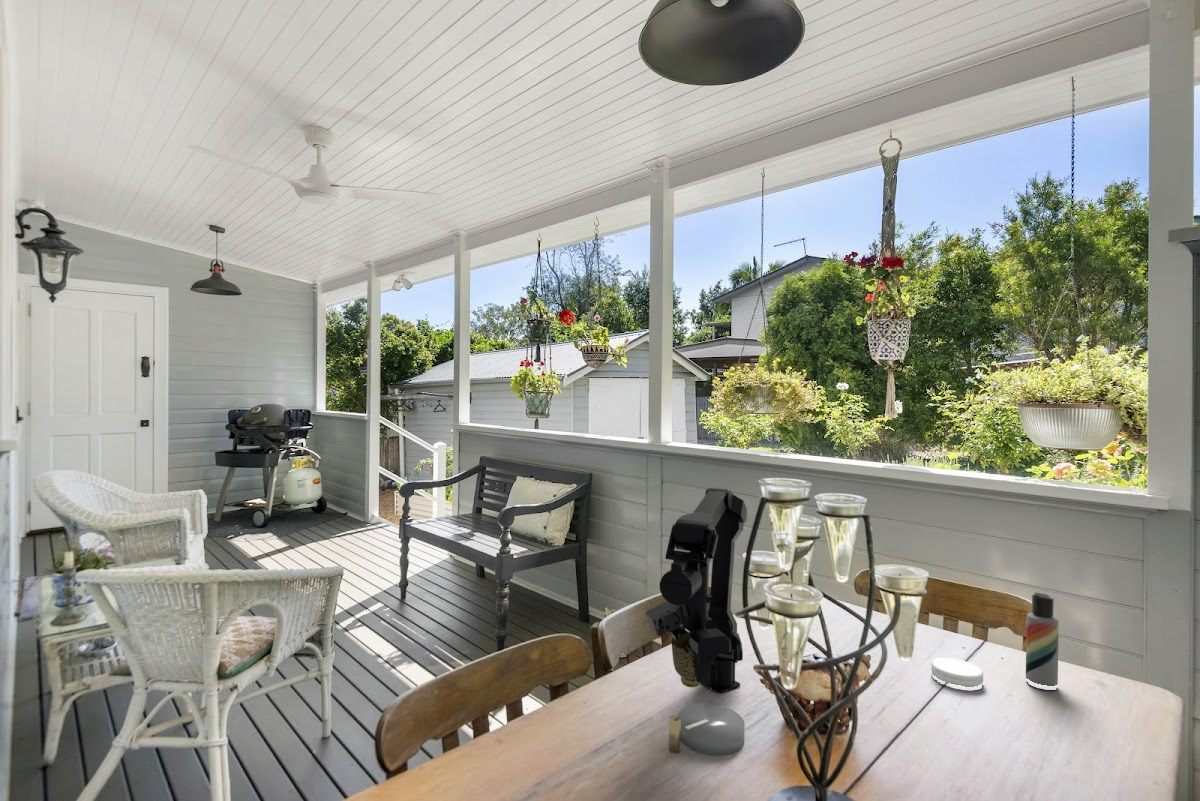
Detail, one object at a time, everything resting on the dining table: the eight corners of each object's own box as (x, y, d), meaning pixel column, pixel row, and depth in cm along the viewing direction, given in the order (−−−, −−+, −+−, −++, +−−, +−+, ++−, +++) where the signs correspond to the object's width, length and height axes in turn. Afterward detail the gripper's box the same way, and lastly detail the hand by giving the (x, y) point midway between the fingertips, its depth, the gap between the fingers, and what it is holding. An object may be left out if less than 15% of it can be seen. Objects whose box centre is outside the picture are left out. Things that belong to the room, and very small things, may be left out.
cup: (695, 698, 105) (696, 653, 105) (662, 683, 110) (663, 640, 110) (719, 684, 110) (720, 641, 110) (686, 670, 116) (687, 629, 116)
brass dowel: (675, 745, 106) (675, 714, 106) (682, 751, 104) (683, 719, 104) (666, 749, 105) (666, 717, 105) (673, 755, 103) (674, 722, 103)
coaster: (928, 683, 132) (928, 667, 132) (933, 668, 141) (933, 653, 141) (982, 697, 127) (982, 680, 127) (984, 680, 135) (984, 664, 135)
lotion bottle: (1025, 677, 136) (1027, 588, 136) (1057, 684, 133) (1058, 593, 133) (1025, 686, 132) (1026, 594, 132) (1058, 694, 128) (1059, 600, 128)
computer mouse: (711, 713, 117) (711, 696, 117) (758, 742, 107) (758, 724, 107) (663, 730, 111) (663, 713, 111) (709, 763, 101) (709, 744, 101)
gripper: (633, 576, 117) (632, 657, 117) (672, 609, 99) (671, 704, 99) (686, 572, 120) (684, 651, 120) (733, 603, 102) (731, 695, 102)
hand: (691, 673), depth 110 cm, fingers closed on cup, 6 cm apart
